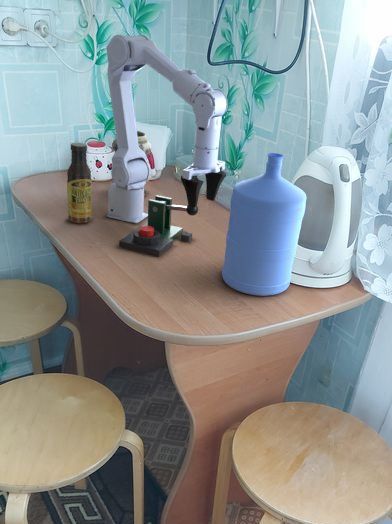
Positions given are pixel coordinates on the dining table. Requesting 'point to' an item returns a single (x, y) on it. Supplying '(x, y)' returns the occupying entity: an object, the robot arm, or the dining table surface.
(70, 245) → the dining table surface
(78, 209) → the sauce bottle
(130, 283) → the dining table surface
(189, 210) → the rod
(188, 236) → the block
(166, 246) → the button box
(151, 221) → the rod bracket
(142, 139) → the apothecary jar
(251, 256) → the water jug
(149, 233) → the button
